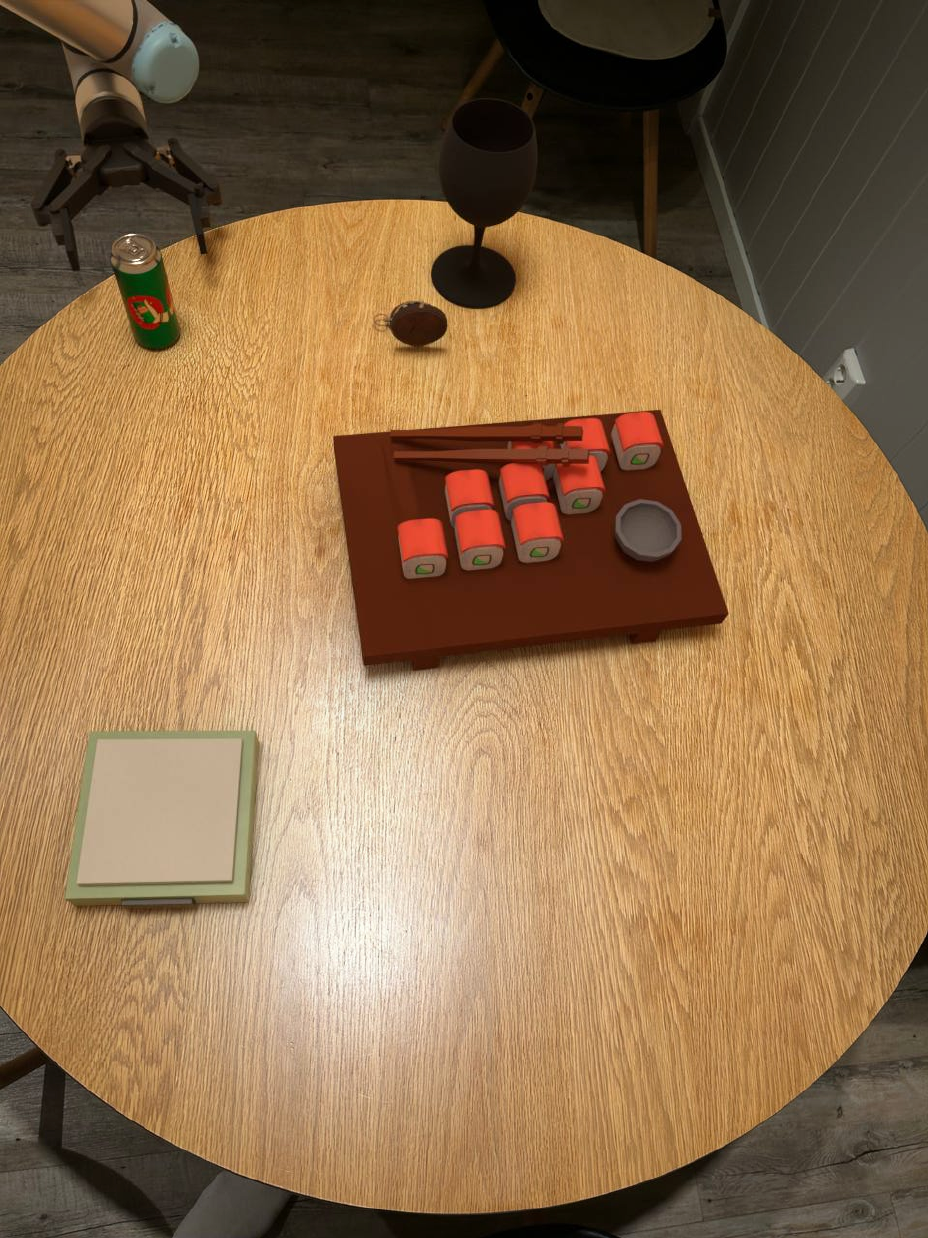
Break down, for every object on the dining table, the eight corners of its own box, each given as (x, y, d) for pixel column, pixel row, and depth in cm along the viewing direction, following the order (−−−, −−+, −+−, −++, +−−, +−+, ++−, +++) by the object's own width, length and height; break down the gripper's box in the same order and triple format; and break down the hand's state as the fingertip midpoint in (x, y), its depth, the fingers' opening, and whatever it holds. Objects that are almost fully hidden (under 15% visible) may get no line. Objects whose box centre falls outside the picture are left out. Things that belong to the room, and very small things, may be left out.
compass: (440, 305, 111) (444, 256, 104) (444, 357, 107) (449, 309, 101) (372, 304, 110) (372, 255, 103) (374, 356, 106) (374, 308, 100)
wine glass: (412, 270, 113) (421, 116, 95) (476, 234, 117) (495, 79, 99) (470, 322, 110) (490, 172, 92) (533, 283, 114) (564, 133, 96)
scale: (73, 912, 76) (60, 903, 73) (98, 743, 83) (86, 727, 79) (248, 908, 78) (243, 899, 74) (259, 742, 84) (254, 727, 81)
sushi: (334, 462, 99) (330, 385, 88) (649, 436, 104) (681, 360, 94) (363, 677, 88) (363, 618, 77) (713, 634, 94) (757, 574, 83)
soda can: (154, 311, 106) (130, 223, 96) (190, 331, 105) (170, 244, 95) (124, 338, 104) (96, 251, 93) (160, 359, 103) (137, 273, 93)
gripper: (224, 143, 116) (257, 264, 107) (12, 165, 111) (28, 295, 102) (216, 85, 109) (250, 209, 101) (-11, 106, 104) (4, 238, 95)
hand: (138, 252), depth 101 cm, fingers open, 13 cm apart
